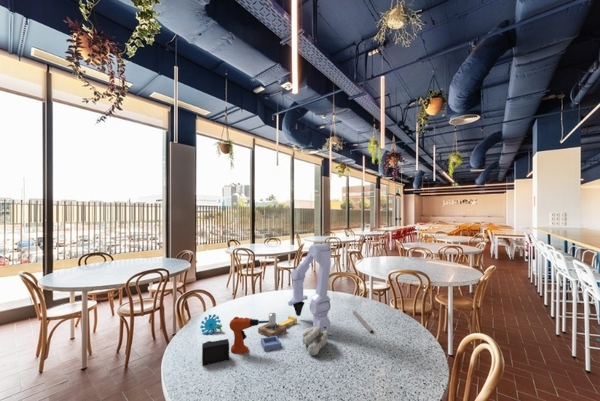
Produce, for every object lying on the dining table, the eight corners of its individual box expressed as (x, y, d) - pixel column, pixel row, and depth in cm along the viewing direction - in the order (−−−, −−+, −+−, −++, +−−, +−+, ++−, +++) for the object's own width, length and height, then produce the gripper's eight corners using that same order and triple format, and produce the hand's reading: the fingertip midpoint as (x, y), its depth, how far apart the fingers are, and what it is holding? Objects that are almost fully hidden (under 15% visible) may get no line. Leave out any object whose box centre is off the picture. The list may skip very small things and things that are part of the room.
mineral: (334, 335, 125) (324, 315, 127) (330, 351, 108) (318, 328, 110) (312, 346, 126) (302, 326, 128) (304, 364, 110) (293, 341, 112)
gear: (196, 331, 132) (205, 311, 140) (199, 335, 136) (209, 316, 144) (216, 336, 130) (225, 316, 137) (219, 340, 134) (227, 321, 141)
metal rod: (370, 334, 131) (370, 330, 132) (352, 314, 158) (352, 310, 158) (373, 334, 132) (373, 329, 132) (356, 313, 159) (355, 310, 159)
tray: (281, 347, 118) (281, 342, 118) (264, 351, 115) (264, 345, 116) (276, 340, 125) (276, 335, 125) (260, 343, 123) (260, 338, 123)
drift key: (296, 323, 144) (296, 318, 145) (283, 329, 137) (283, 324, 137) (289, 320, 148) (289, 315, 148) (276, 327, 140) (276, 321, 140)
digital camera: (227, 354, 114) (228, 337, 114) (229, 360, 109) (229, 342, 109) (202, 359, 110) (202, 341, 110) (202, 366, 105) (202, 347, 105)
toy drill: (270, 353, 111) (266, 316, 112) (229, 355, 114) (225, 319, 115) (274, 347, 116) (269, 312, 117) (234, 349, 119) (230, 315, 120)
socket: (292, 328, 138) (292, 323, 138) (272, 338, 127) (272, 333, 127) (279, 323, 145) (279, 318, 145) (258, 332, 133) (258, 327, 133)
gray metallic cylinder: (276, 333, 133) (276, 314, 133) (269, 334, 132) (269, 315, 132) (274, 330, 136) (274, 312, 137) (268, 331, 135) (268, 313, 135)
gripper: (301, 286, 159) (301, 310, 158) (284, 292, 147) (284, 317, 147) (310, 288, 154) (310, 312, 153) (293, 294, 143) (293, 320, 142)
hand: (298, 315), depth 150 cm, fingers closed
